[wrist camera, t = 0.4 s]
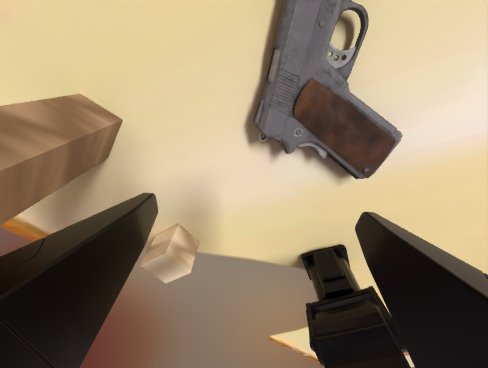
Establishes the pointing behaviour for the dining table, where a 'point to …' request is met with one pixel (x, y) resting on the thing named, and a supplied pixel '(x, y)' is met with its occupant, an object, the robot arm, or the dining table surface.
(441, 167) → the dining table surface
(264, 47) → the dining table surface
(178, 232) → the maple block
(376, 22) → the dining table surface
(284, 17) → the handgun
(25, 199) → the walnut block
